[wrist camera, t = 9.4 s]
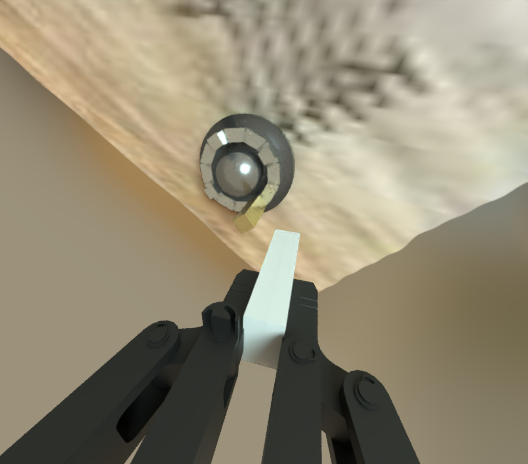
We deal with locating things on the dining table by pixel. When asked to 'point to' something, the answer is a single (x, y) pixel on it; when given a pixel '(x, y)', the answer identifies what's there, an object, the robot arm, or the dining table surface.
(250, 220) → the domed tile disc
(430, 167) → the dining table surface
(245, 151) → the housing
